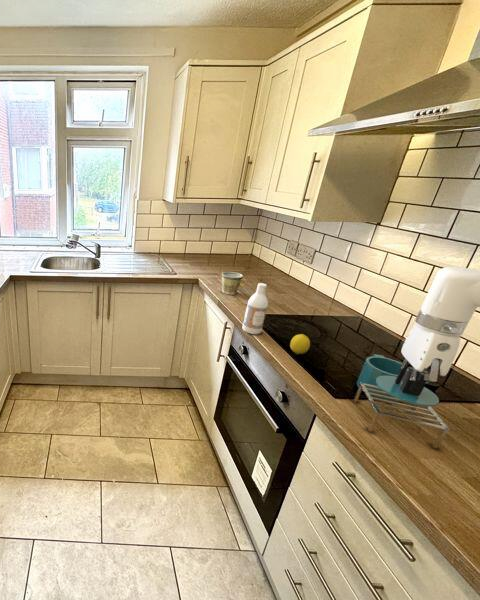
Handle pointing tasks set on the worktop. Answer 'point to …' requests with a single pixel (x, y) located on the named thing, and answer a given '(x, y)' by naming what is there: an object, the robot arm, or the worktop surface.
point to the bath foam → (256, 311)
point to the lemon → (300, 344)
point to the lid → (395, 390)
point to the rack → (411, 412)
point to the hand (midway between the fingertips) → (406, 388)
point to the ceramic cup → (231, 282)
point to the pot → (378, 373)
